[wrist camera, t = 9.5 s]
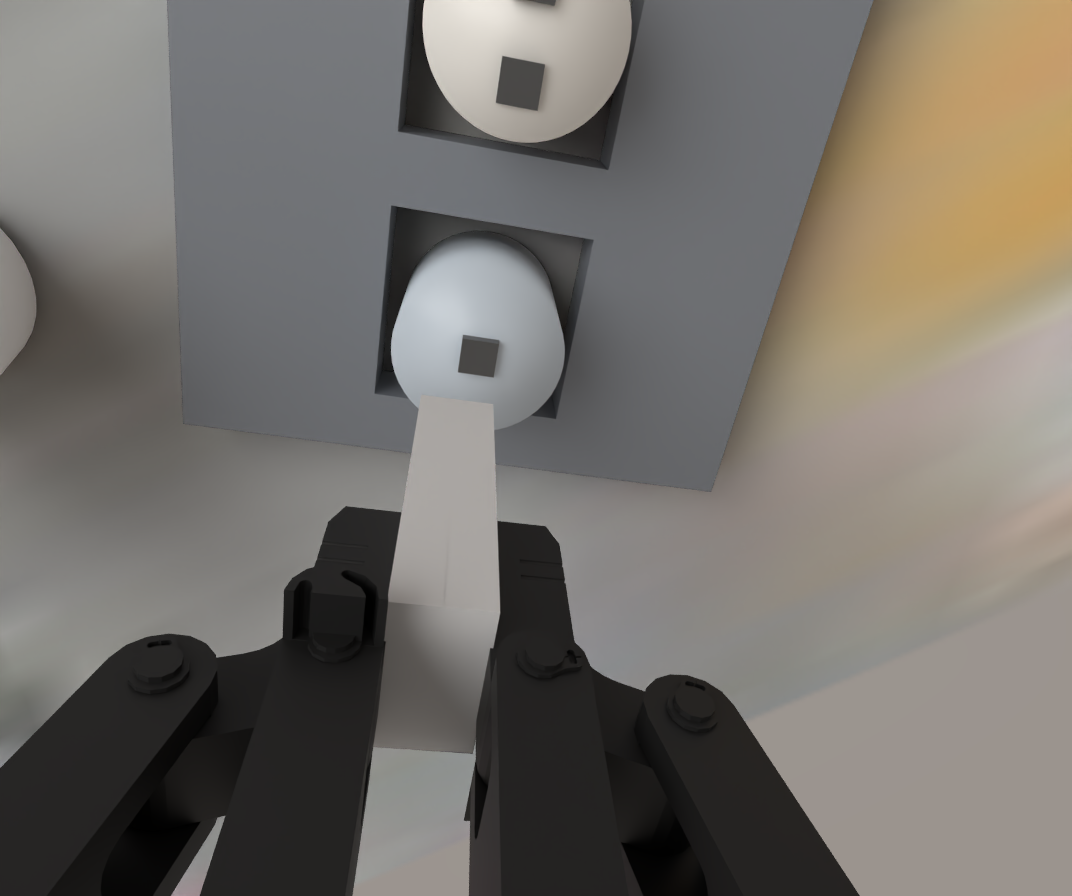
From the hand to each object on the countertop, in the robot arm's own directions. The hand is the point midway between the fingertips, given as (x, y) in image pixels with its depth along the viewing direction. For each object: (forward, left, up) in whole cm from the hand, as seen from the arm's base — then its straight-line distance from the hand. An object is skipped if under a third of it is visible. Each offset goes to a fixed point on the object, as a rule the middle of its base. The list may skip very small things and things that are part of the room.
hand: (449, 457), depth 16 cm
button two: (+1, +8, -10) cm, 13 cm away
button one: (+1, 0, -10) cm, 10 cm away
